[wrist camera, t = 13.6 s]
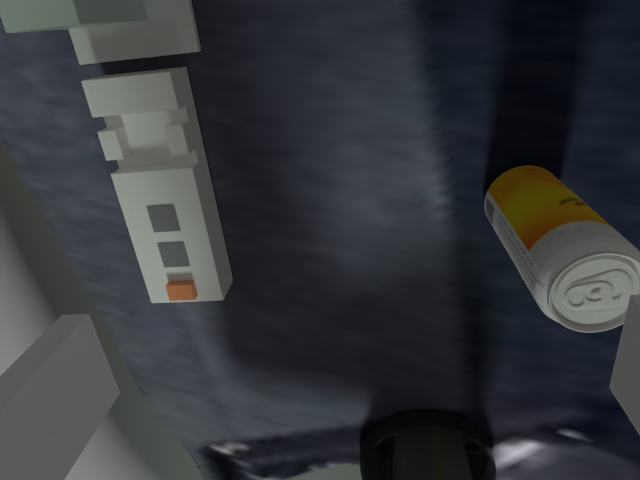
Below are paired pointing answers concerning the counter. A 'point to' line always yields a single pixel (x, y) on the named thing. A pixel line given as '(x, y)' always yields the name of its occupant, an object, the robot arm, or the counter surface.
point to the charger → (68, 14)
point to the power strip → (163, 182)
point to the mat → (141, 35)
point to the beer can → (563, 250)
